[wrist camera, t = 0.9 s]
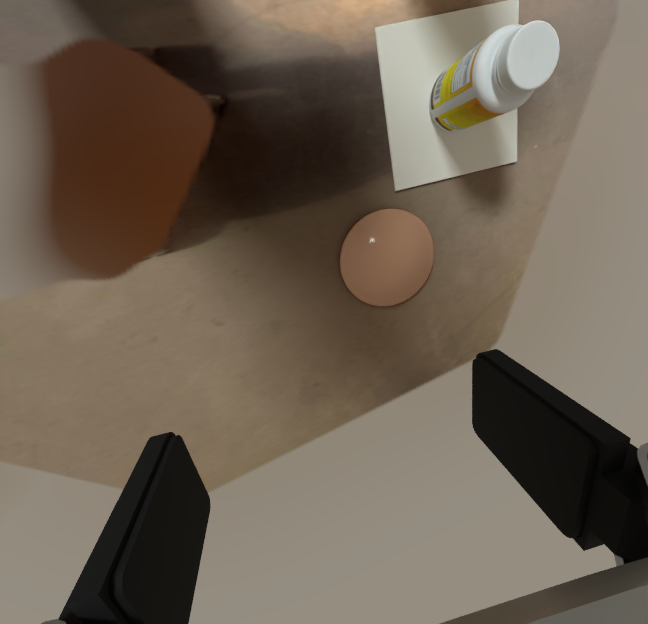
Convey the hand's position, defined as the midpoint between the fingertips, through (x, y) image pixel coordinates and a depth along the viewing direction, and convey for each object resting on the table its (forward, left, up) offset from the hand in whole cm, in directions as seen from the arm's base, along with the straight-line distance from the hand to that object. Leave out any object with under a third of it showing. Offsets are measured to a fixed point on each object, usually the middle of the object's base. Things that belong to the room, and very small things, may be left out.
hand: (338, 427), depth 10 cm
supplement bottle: (-12, +20, -26) cm, 35 cm away
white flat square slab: (-12, +20, -26) cm, 35 cm away
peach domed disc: (+2, +11, -26) cm, 28 cm away
